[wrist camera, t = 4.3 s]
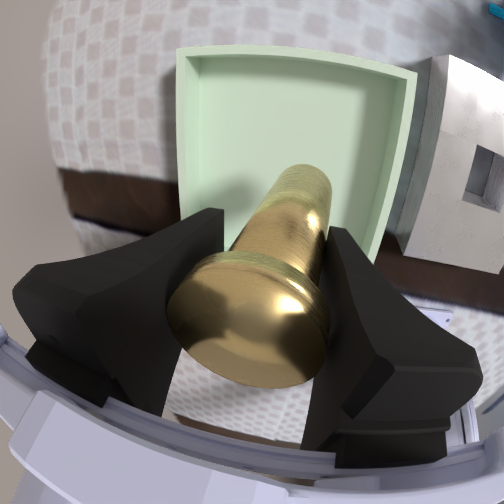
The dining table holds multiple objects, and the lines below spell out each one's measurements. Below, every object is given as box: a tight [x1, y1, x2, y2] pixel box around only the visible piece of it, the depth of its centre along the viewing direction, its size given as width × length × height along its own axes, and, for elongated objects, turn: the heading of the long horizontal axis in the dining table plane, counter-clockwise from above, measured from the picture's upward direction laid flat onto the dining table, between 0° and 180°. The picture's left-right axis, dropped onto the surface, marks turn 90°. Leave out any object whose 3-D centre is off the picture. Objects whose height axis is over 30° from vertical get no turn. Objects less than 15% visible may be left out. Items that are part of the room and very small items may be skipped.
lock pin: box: [167, 164, 332, 389], centre depth 10 cm, size 4×4×10 cm
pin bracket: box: [395, 55, 504, 274], centre depth 14 cm, size 14×10×3 cm
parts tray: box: [176, 45, 418, 264], centre depth 18 cm, size 16×14×3 cm
